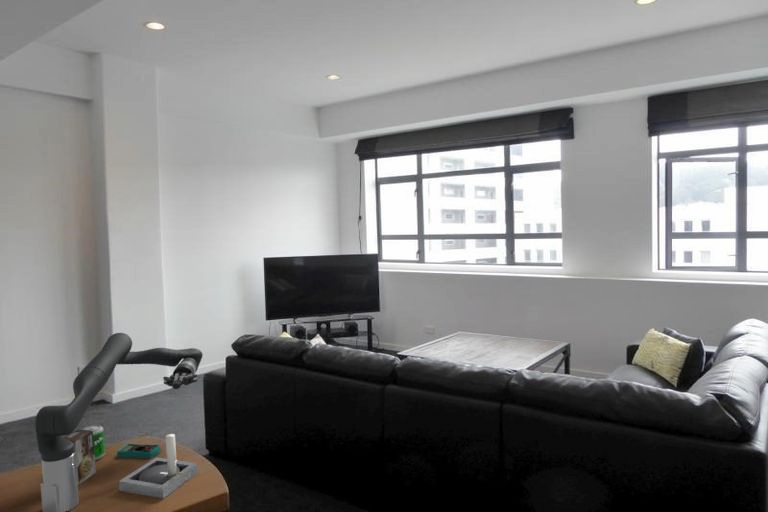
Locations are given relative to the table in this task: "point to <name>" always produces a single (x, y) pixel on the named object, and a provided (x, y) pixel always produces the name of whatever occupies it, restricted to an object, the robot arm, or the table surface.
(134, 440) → the table surface
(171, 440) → the lever
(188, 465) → the grey square frame
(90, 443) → the coffee box
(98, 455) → the soda can
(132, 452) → the digital multimeter
